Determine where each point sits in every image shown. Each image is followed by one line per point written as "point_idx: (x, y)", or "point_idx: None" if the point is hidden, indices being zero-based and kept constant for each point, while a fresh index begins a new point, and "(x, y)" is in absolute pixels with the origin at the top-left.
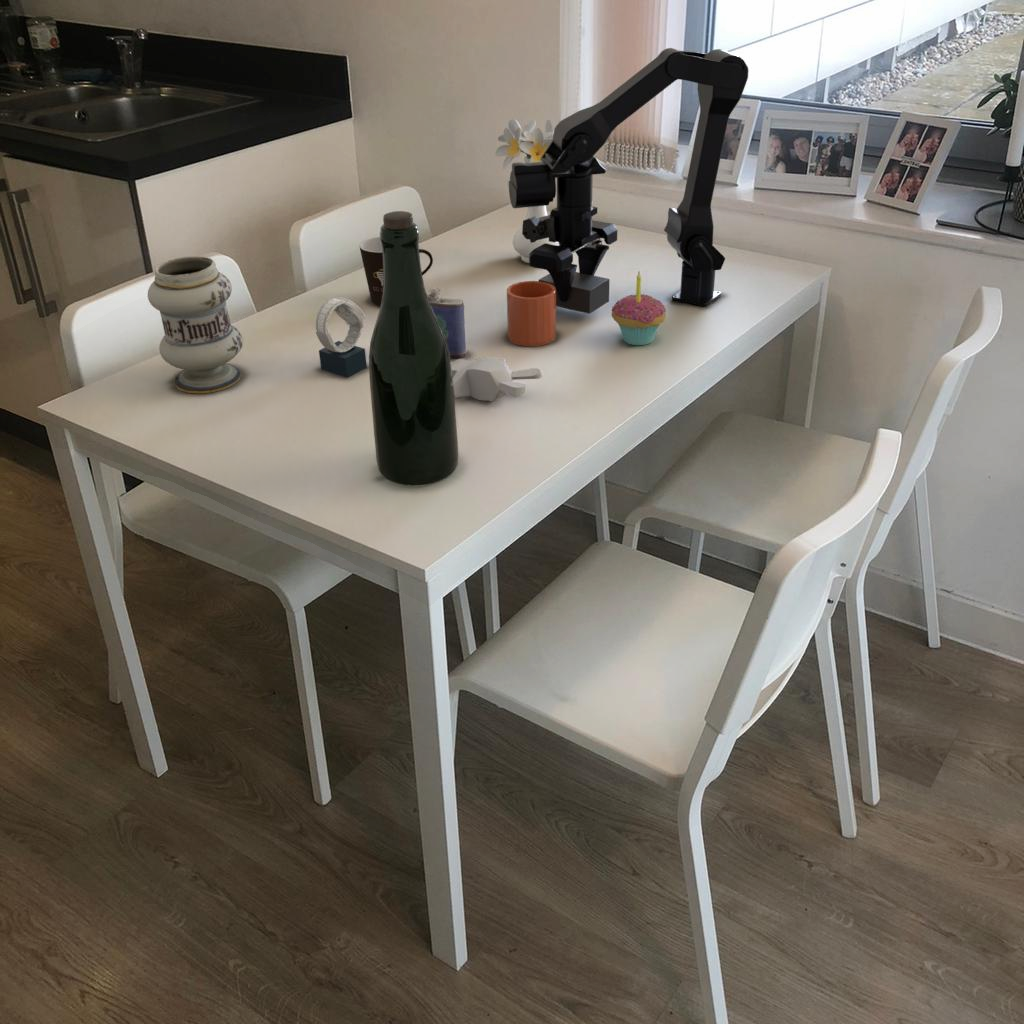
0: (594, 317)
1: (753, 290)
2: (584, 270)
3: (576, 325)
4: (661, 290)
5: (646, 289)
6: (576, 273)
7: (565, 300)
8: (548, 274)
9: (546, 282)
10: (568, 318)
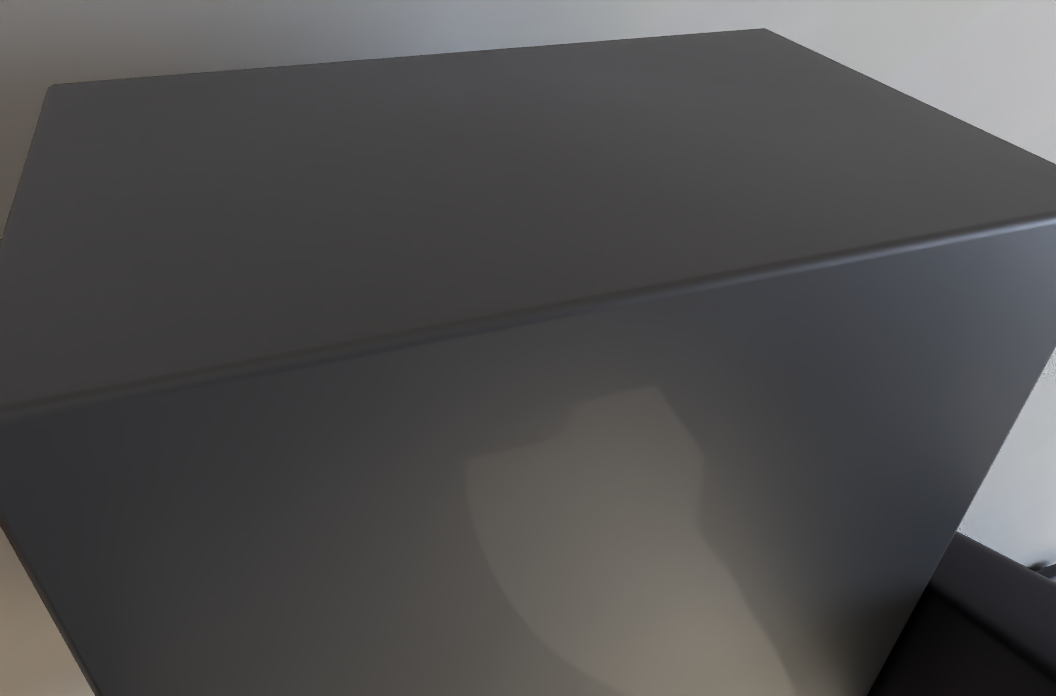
0: None
1: None
2: (940, 689)
3: None
4: (1036, 496)
5: (1052, 434)
6: (871, 608)
7: None
8: (636, 312)
9: (81, 625)
10: None
